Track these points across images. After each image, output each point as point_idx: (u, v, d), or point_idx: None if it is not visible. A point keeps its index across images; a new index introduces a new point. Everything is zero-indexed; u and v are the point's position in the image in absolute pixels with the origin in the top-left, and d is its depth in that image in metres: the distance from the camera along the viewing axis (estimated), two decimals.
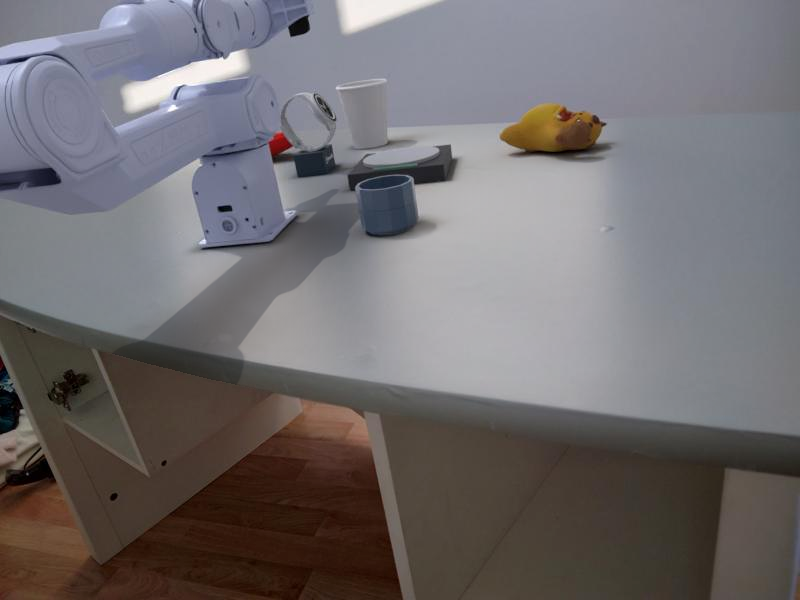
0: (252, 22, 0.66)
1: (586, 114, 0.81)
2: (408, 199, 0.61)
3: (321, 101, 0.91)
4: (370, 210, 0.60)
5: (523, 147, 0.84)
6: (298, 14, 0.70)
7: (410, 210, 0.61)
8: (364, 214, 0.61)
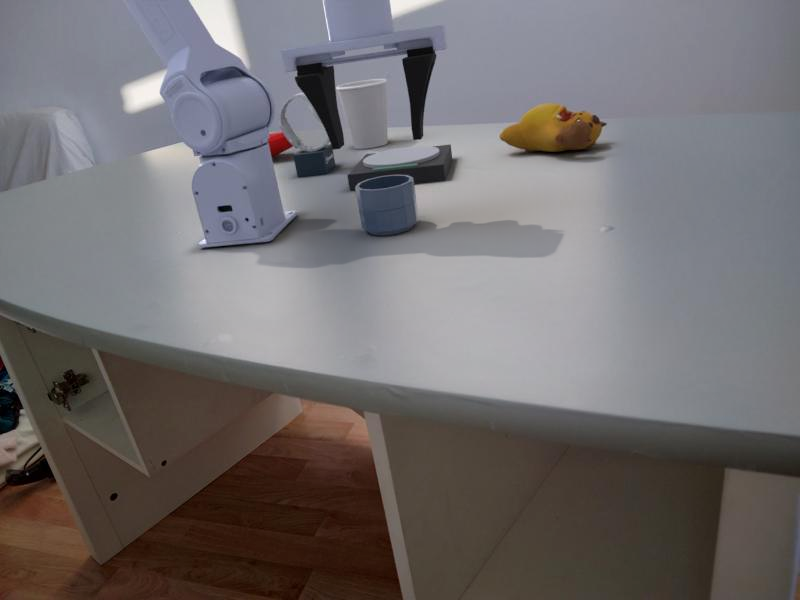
0: None
1: (586, 114, 0.81)
2: (408, 199, 0.61)
3: None
4: (370, 210, 0.60)
5: (523, 147, 0.84)
6: None
7: (410, 210, 0.61)
8: (364, 214, 0.61)
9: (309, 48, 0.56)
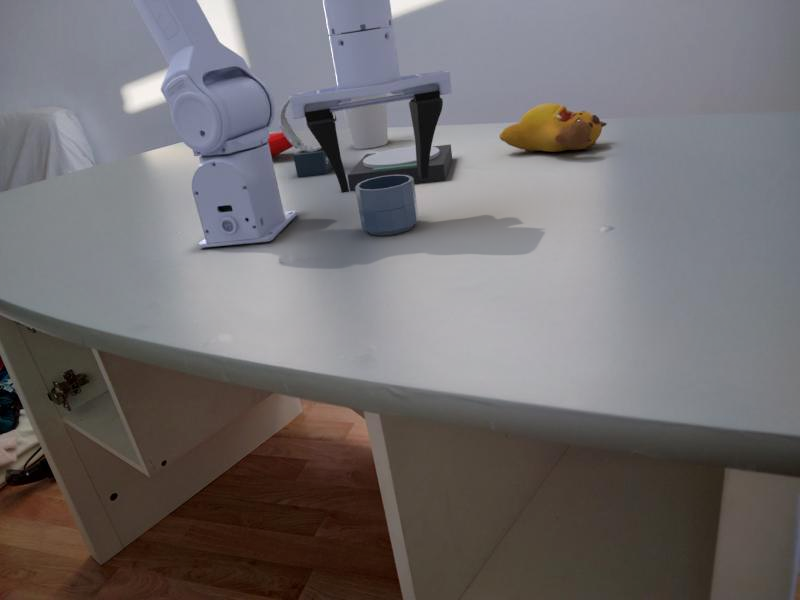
0: (341, 26, 0.54)
1: (586, 114, 0.81)
2: (408, 199, 0.61)
3: None
4: (370, 210, 0.60)
5: (523, 147, 0.84)
6: None
7: (410, 210, 0.61)
8: (364, 214, 0.61)
9: (321, 95, 0.56)
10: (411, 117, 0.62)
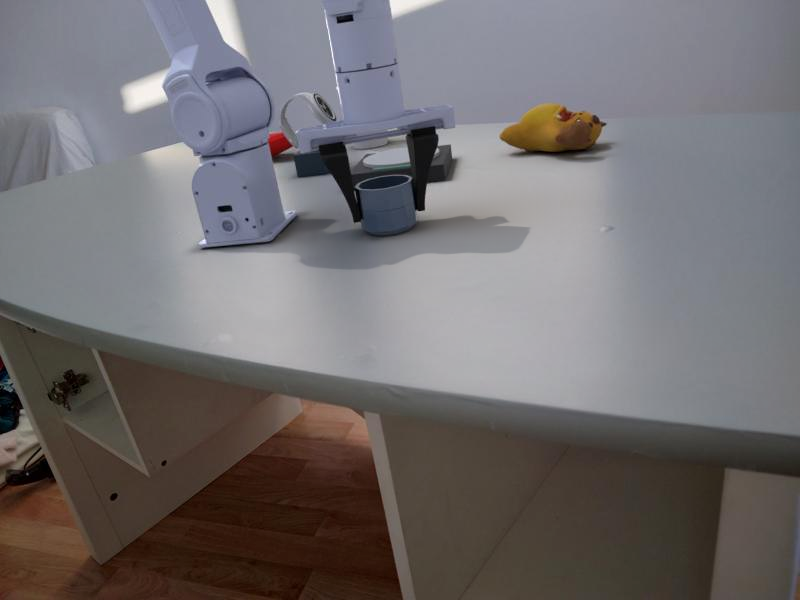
0: (347, 64, 0.55)
1: (586, 114, 0.81)
2: (408, 199, 0.61)
3: (321, 101, 0.91)
4: (370, 210, 0.60)
5: (523, 147, 0.84)
6: None
7: (410, 210, 0.61)
8: (363, 214, 0.61)
9: (327, 131, 0.58)
10: (408, 150, 0.63)
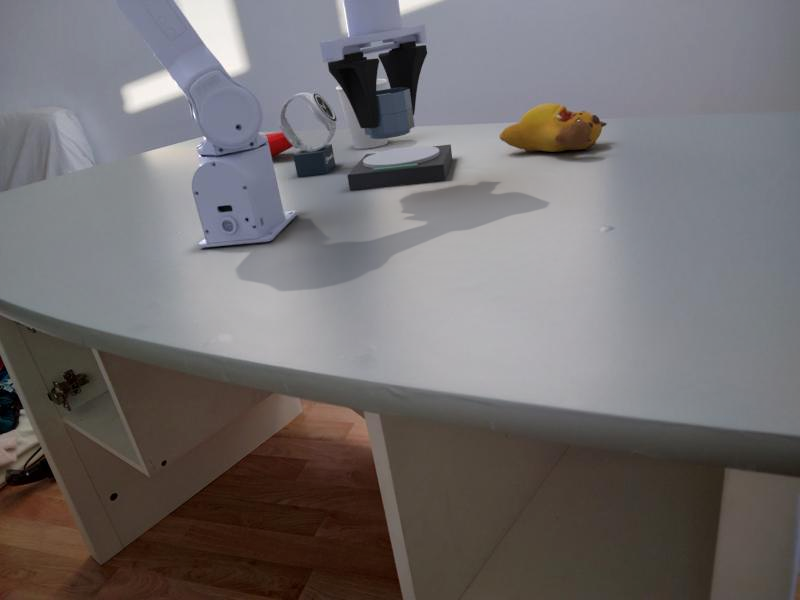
0: None
1: (586, 114, 0.81)
2: None
3: (321, 101, 0.91)
4: (390, 113, 0.68)
5: (523, 147, 0.84)
6: None
7: None
8: (381, 118, 0.68)
9: (358, 38, 0.64)
10: (384, 68, 0.72)
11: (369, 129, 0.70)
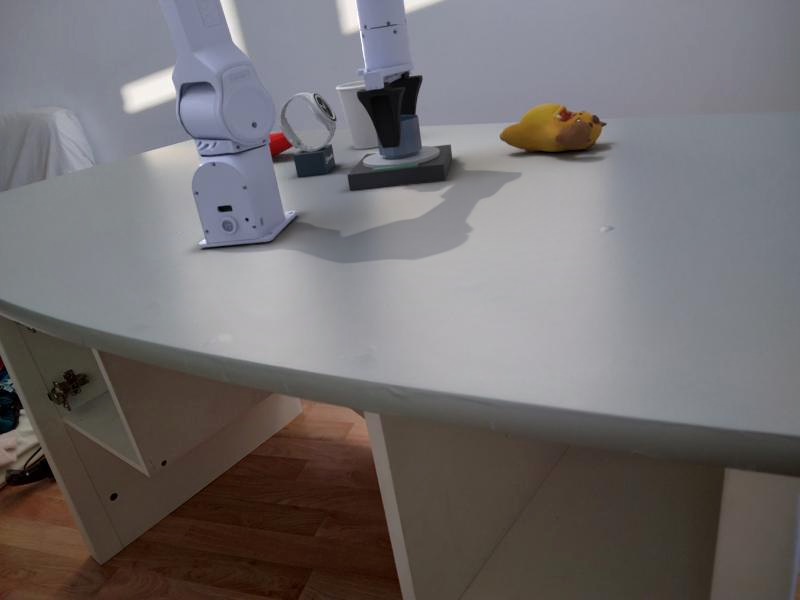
0: (396, 19, 0.75)
1: (586, 114, 0.81)
2: None
3: (321, 101, 0.91)
4: (410, 135, 0.80)
5: (523, 147, 0.84)
6: None
7: None
8: (404, 140, 0.80)
9: (392, 69, 0.75)
10: None
11: (391, 150, 0.81)
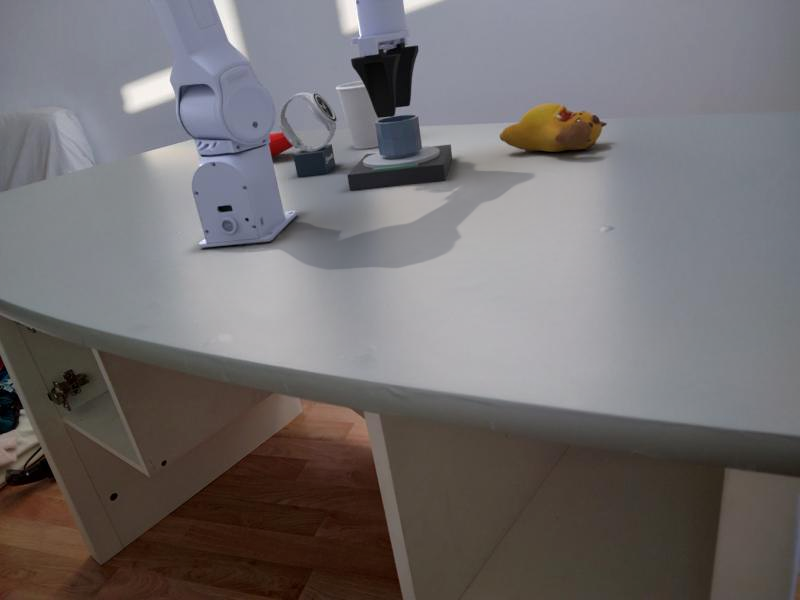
0: None
1: (586, 114, 0.81)
2: None
3: (321, 101, 0.91)
4: (410, 135, 0.80)
5: (523, 147, 0.84)
6: None
7: None
8: (404, 140, 0.80)
9: (386, 35, 0.73)
10: None
11: (391, 150, 0.81)
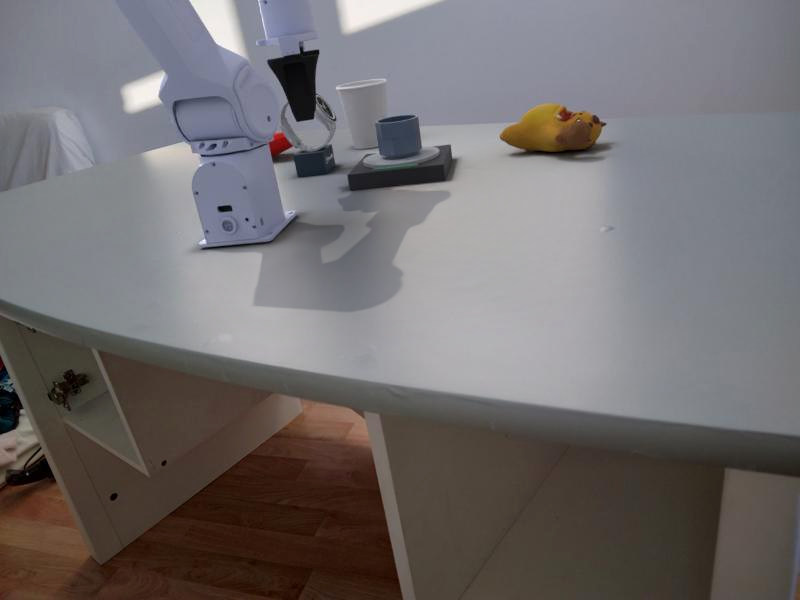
0: None
1: (586, 114, 0.81)
2: None
3: (321, 101, 0.91)
4: (410, 135, 0.80)
5: (523, 147, 0.84)
6: None
7: None
8: (404, 140, 0.80)
9: (303, 35, 0.71)
10: None
11: (391, 150, 0.81)
